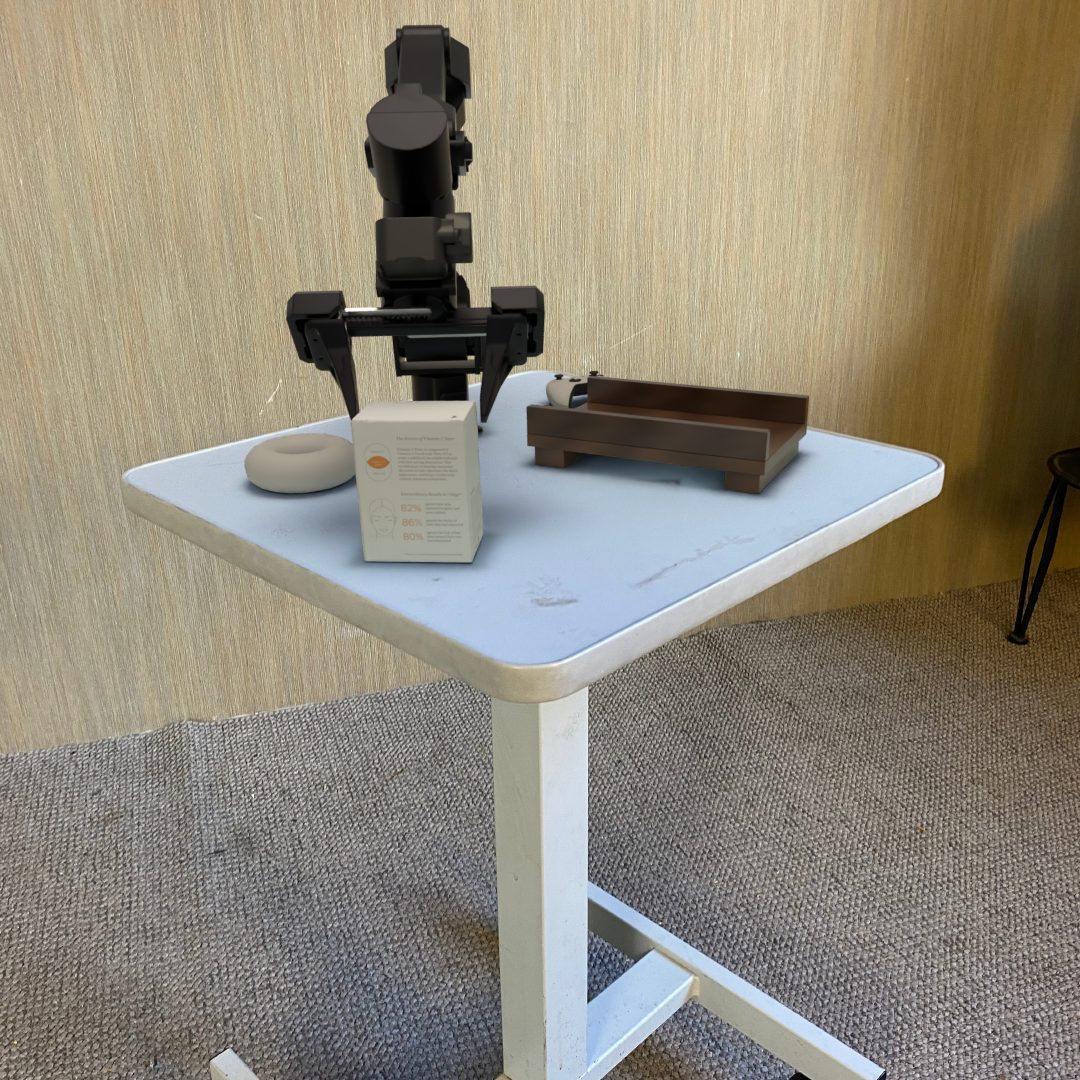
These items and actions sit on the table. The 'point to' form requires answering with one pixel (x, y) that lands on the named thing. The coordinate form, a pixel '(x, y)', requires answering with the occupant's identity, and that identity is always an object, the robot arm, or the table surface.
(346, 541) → the table surface
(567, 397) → the game controller
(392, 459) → the small box
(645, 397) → the tray
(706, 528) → the table surface
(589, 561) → the table surface
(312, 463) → the donut
